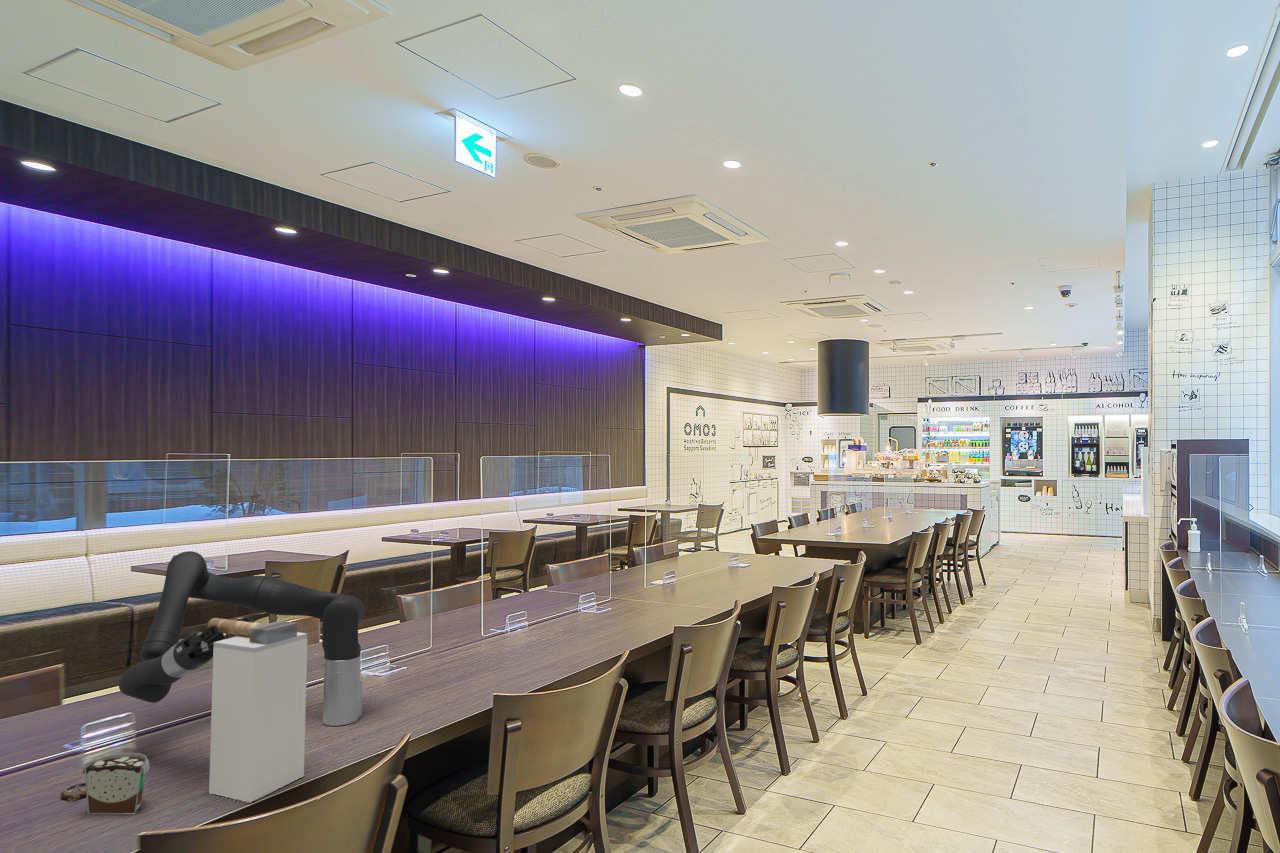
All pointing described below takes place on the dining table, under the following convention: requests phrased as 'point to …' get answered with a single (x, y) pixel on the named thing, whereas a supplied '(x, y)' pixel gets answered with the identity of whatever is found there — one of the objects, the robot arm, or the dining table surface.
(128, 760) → the food container
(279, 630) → the mallet
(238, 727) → the stand
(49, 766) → the dining table surface
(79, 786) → the compass
